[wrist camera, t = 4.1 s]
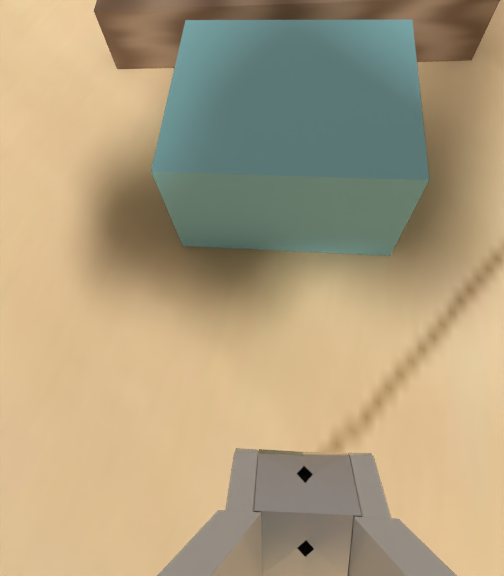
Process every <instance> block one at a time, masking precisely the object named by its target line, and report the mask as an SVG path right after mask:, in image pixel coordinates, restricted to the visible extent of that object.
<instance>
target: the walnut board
mask: <svg viewBox="0 0 504 576" xmlns="http://www.w3.org/2000/svg"><path fill="white" fill-rule="evenodd" d="M499 1H500V0H97V2H96V5H95V9H94V12H95V15H96V17H97V20H98V22H99V25H100V27H101V30H102V32H103V35H104V37H105V40H106V42H107V45H108V47H109V50H110V52H111V55H112V57H113V60H114V62H115V65H116V67H117V69H134V68H174V67H175V64H176V60H177V55H178V51H179V46H180V42H181V38H182V33H183V29H184V24H185V20H412V21H413V30H414V39H415V49H416V58H417V61H451V60H472V58H473V56H474V54H475V52H476V50H477V48H478V45H479V43H480V41H481V39H482V37H483V35H484V33H485V31H486V28H487V26H488V24H489V22H490V20H491V18H492V16H493V14H494V11H495V9H496V7H497V5H498V3H499Z"/></svg>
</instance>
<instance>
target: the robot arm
mask: <svg viewBox="0 0 504 576" xmlns="http://www.w3.org/2000/svg"><path fill="white" fill-rule="evenodd" d="M157 576H457V575H456V574H455V573H454V572H453V571H452V570H451V569H450V568H449V567H448V566H447V565H446V564H444V563H443V562H442V561H441V560H440V559H439V558H438V557H437V556H436V555H435V554H434V553H433V552H432V551H431V550H430V549H429V548H428V547H427V546H426V545H425V544H424V543H423V542H422V541H421V540H420V539H419V538H418V537H417V536H416V535H415V534H414V533H413V532H412V531H411V530H410V529H409V528H408V527H407V526H406V525H405V524H404V523H403V522H402V521H401V520H400V519H392V518H391V515H390V511H389V508H388V504H387V501H386V497H385V494H384V490H383V487H382V483H381V480H380V476H379V473H378V469H377V466H376V462H375V459H374V456H373V455H372V454H371V453H348V454H347V453H324V452H294V451H278V450H262V449H259V451H258V450H253V449H239V448H236V450H235V452H234V456H233V463H232V469H231V476H230V483H229V489H228V496H227V503H226V510H218V511H217V512H216V513H215V514H214V515H213V517H212V518H211V519H210V520H209V521H208V522H207V523H206V524H205V525H204V526H203V527H202V528H201V529H200V530H199V532H198V533H197V534H196V535H195V536H194V537H193V538H192V539H191V540H190V541H189V542H188V543H187V544H186V545H185V546H184V548H183V549H182V550H181V551H180V552H179V553H178V554H177V555H176V556H175V557H174V558H173V559H172V560H171V561H170V563H169V564H168V565H167V566H166V567H165V568H164V569H163V570H162V571H161V572H160V573H159V574H158V575H157Z"/></svg>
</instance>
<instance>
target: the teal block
mask: <svg viewBox="0 0 504 576" xmlns="http://www.w3.org/2000/svg"><path fill="white" fill-rule="evenodd" d="M151 173H152V175H153V178H154V180H155V182H156V185H157V187H158V189H159V192H160V194H161V196H162V199H163V201H164V203H165V206H166V208H167V210H168V213H169V215H170V217H171V220H172V222H173V224H174V227H175V229H176V231H177V234H178V236H179V238H180V241H181V243H182V245H183V246H191V247H213V248H235V249H256V250H278V251H300V252H322V253H343V254H365V255H387V256H390V255H391V253H392V251H393V249H394V247H395V245H396V243H397V241H398V240H399V238H400V236H401V234H402V232H403V230H404V228H405V226H406V224H407V222H408V220H409V219H410V217H411V215H412V213H413V211H414V209H415V207H416V205H417V203H418V201H419V199H420V197H421V196H422V194H423V192H424V190H425V188H426V186H427V184H428V182H429V171H428V162H427V152H426V143H425V134H424V124H423V115H422V105H421V96H420V86H419V77H418V68H417V58H416V49H415V39H414V30H413V21H412V20H185V24H184V29H183V33H182V38H181V42H180V46H179V51H178V55H177V60H176V64H175V68H174V73H173V77H172V82H171V86H170V91H169V95H168V99H167V104H166V108H165V113H164V117H163V121H162V126H161V130H160V135H159V139H158V143H157V148H156V152H155V157H154V161H153V165H152V170H151Z"/></svg>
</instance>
